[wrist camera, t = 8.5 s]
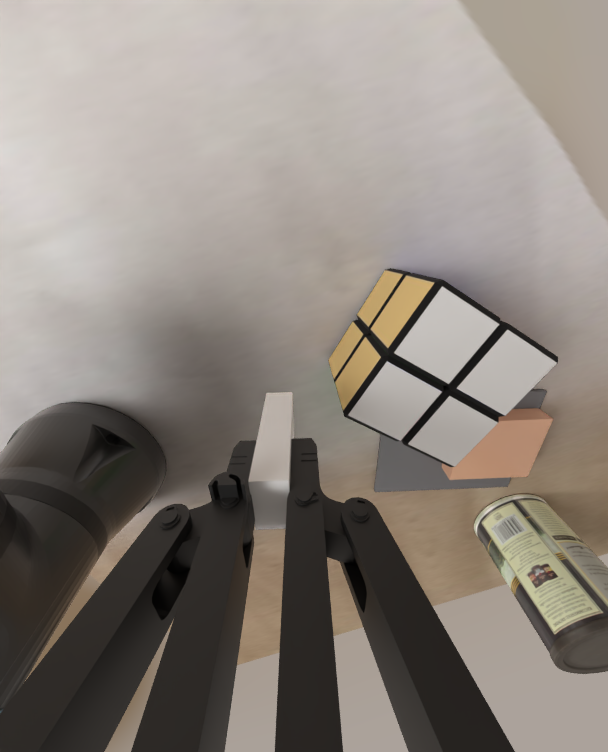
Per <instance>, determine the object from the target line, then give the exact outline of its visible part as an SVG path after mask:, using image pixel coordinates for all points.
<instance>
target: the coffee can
mask: <svg viewBox="0 0 608 752" xmlns="http://www.w3.org/2000/svg"><path fill="white" fill-rule="evenodd" d="M474 531H475V534H476V535H477V537H479V539H480V541H481V542H482V544H483V545H484V547H485V549H486V550H487V552H488V553H489V555H490V557H491V558H492V560H493V562H494V563H495V565H496V566H497V568H498V570H499V571H500V573H501V574H502V576H503V578H504V579H505V581H506V583H507V584H508V586H509V587H510V589H511V591H512V592H513V594H514V596H515V597H516V599H517V600H518V602H519V604H520V605H521V607H522V609H523V610H524V612H525V613H526V615H527V617H528V618H529V620H530V622H531V624H532V625H533V627H534V628H535V630H536V631H537V633H538V635H539V636H540V638H541V640H542V641H543V643H544V645H545V646H546V648H547V649H548V651H549V653H550V656H551V658H552V660H553V662H554V664H555V665H556V666H557V667H558V668H559V669H561V670H563V671H566V672H570V673H578V674H588V673H599V672H605V671H608V568H607V566H606V565H605V564H604V563H603V562H602V561H601V560H600V559H599V558H598V557H597V556H596V555H595V554H594V553H593V552H592V551H591V549H590V548H589V547H588V546H587V545H586V544H585V543H584V542H583V541H582V540H581V539H580V538H579V537H578V536H577V535H576V534H575V533H574V532H573V530H572V529H571V528H570V527H569V526H568V525H567V524H566V523H565V522H564V521H563V520H562V519H561V518H560V517H559V516H558V515H557V514H556V513H555V512H554V511H553V509H552V508H551V507H550V506H549V505H548V503H547V502H546V501H545V500H544V499H542V498H541V497H538V496H536V495H531V494H517V495H512V496H507V497H504V498H502V499H499V500H497V501H495V502H494V503H492V504H490V505H489V506H487V507H486V508H485V509H484V510H483V511H481V513H480V514H479V515H478V516H477V518H476V520H475V523H474Z"/></svg>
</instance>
